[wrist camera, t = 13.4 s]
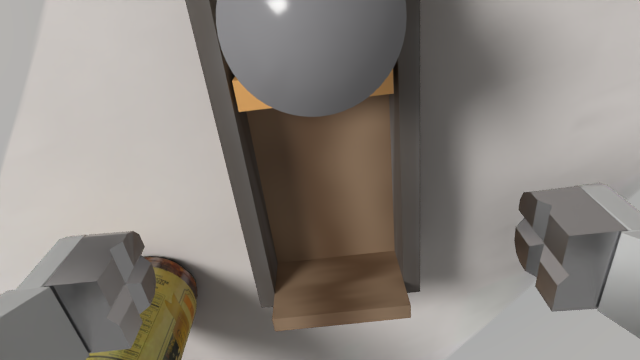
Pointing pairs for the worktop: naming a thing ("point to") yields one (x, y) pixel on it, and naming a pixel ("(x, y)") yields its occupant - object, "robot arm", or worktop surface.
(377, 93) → the pusher
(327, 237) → the lane
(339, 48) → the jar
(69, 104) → the worktop surface
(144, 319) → the sauce bottle
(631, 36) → the worktop surface
